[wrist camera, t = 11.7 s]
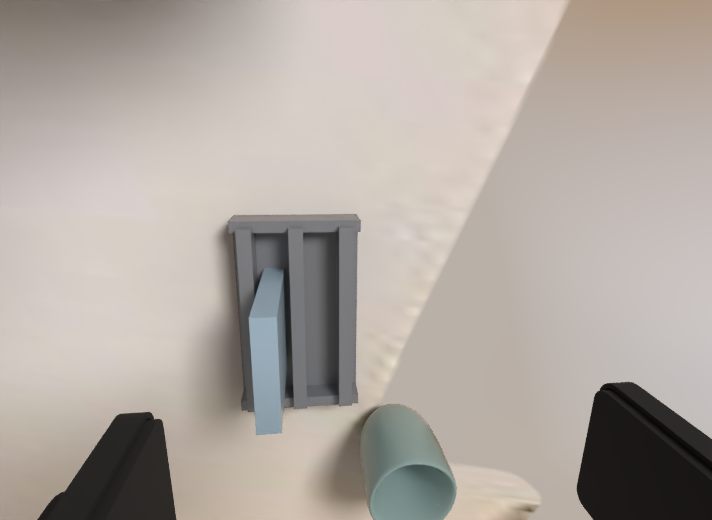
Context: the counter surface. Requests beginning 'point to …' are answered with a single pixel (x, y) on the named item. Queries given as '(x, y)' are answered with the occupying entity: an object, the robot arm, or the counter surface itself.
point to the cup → (404, 467)
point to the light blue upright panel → (269, 351)
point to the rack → (304, 300)
